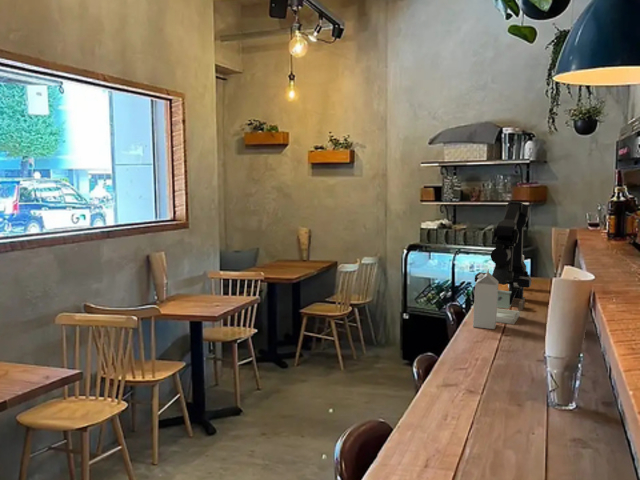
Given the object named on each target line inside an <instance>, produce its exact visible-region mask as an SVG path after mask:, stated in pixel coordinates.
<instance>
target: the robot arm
mask: <svg viewBox="0 0 640 480" xmlns="http://www.w3.org/2000/svg"><path fill="white" fill-rule="evenodd" d="M504 211H505V213H504V217H503V220H501V221H499V222H498V223H497V225H496V227H494V229H493V234H492V239H491V245H495V248H494V249H492V250H491V253H490V260H491V261H492V262H493V263H494V264H495V265H494V269H493V272H492V274H491V275H492V276H493V277H494V278H495V279H496V280H497V281H498V282H499V284H498V285H501V286H502V285H508V284H509V288H508V291H511V297H510V305H511V304H512V301H513V299H514V298H516V299H526V297H525V296H524V290H525V289H526V288H527V289H529V288H530V287H531V286H532V279H531V277H530V274H529V271H527V264H526V263H525V260H524V261H523V260H522V258H523V255H524V254H523V253H524V252H523V251H524V249H523V248H524V247H523V246H524V226H525V225H526V224H527V221H528V220H529V218H530V214H531V213H530V212H531V208H530V206H528V205H526V204H524V203H523V202H521V201H508V202H507V204H506V205H505V210H504ZM486 273H487V272H477V274H475V275H474V282H475V283H476V282H477V280H478V278H477V276H479V275H480V274H483V275H485V274H486ZM524 288H525V289H524Z"/></svg>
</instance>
